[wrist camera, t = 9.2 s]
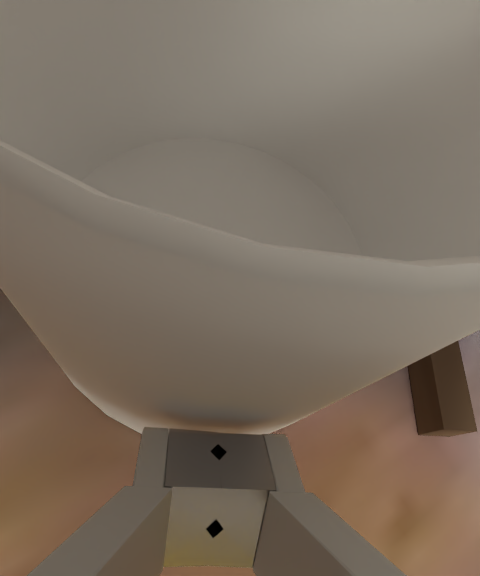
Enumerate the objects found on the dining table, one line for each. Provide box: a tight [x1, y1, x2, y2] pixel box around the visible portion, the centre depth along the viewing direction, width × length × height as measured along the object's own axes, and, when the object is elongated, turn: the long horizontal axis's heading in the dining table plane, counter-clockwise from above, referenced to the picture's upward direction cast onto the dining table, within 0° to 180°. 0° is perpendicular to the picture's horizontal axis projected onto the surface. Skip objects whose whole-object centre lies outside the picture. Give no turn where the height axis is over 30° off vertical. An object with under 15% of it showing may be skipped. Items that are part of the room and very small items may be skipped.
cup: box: [0, 0, 480, 435], centre depth 11 cm, size 12×12×12 cm
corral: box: [408, 341, 477, 437], centre depth 15 cm, size 20×13×3 cm, turn 88°
